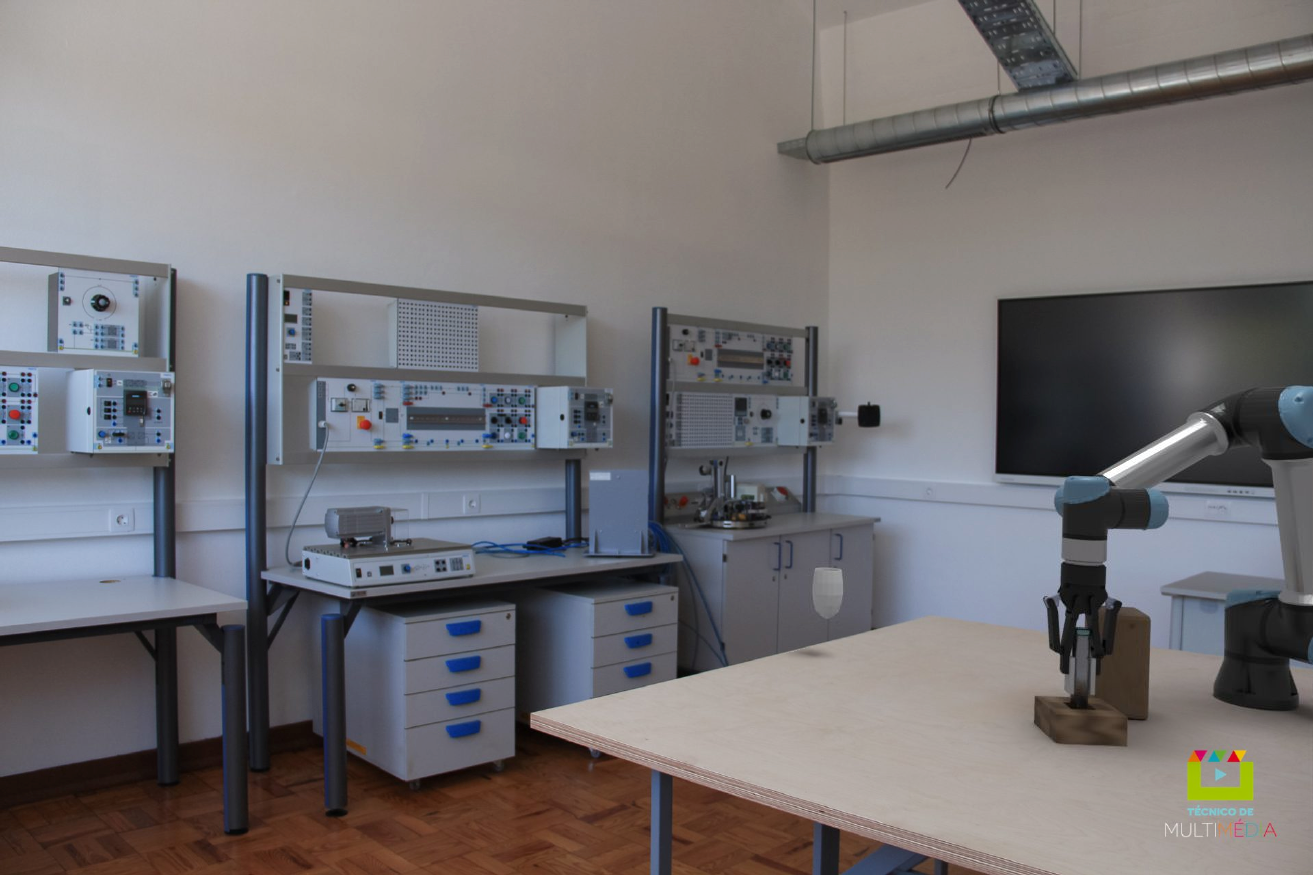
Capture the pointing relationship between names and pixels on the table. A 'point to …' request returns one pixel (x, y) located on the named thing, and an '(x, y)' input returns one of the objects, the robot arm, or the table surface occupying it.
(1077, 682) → the peg
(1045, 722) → the socket block
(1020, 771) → the table surface
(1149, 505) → the robot arm
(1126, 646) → the wooden block
